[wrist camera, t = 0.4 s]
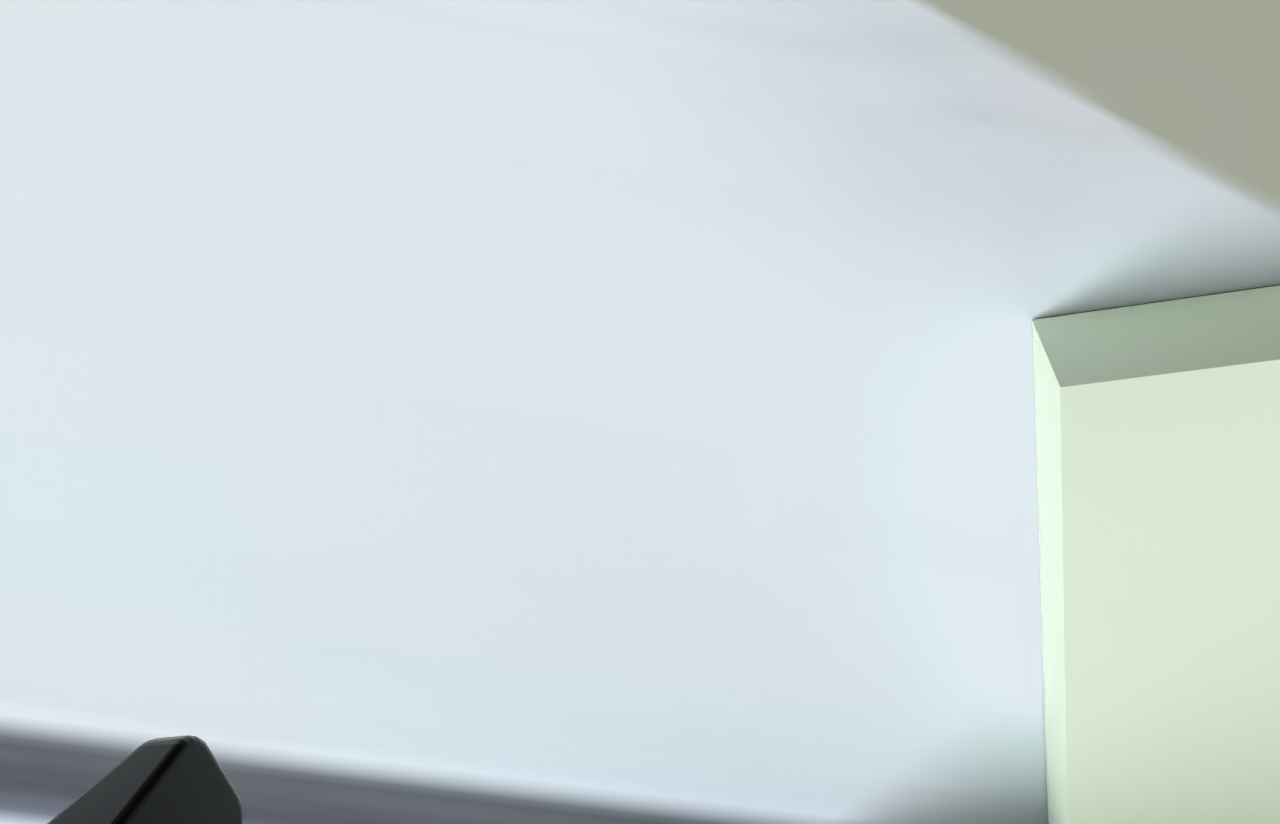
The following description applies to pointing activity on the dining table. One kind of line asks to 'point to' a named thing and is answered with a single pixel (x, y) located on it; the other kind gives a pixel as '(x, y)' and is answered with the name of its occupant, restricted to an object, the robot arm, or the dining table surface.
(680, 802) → the dining table surface
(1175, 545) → the board
